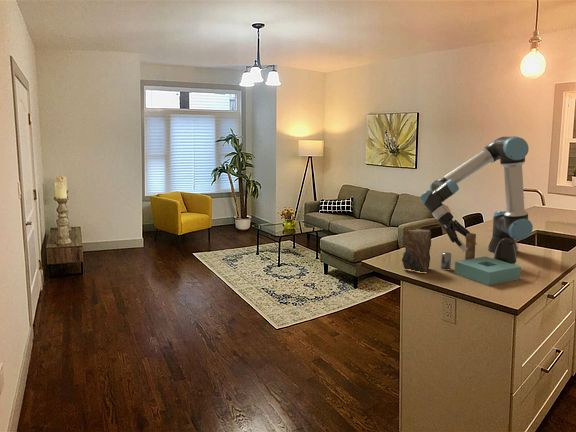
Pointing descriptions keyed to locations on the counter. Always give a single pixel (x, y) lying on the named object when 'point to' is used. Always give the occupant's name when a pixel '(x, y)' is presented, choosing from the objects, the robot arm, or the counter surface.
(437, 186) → the robot arm
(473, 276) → the socket block
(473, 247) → the long walnut pin
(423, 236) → the rough brown stone
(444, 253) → the short steel pin
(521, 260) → the counter surface
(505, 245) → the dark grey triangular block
